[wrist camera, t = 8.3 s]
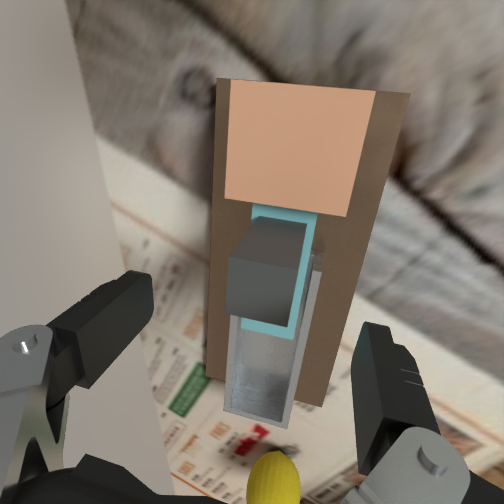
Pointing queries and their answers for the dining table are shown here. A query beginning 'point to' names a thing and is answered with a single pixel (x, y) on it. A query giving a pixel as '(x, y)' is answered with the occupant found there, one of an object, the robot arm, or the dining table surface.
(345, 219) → the channel
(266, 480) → the lemon
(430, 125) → the dining table surface
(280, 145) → the tan hollow block
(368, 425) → the robot arm
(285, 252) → the slide bar
